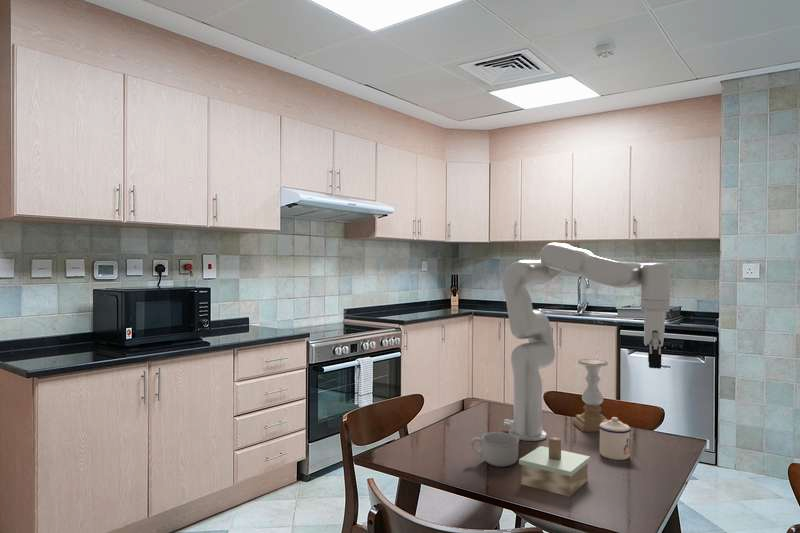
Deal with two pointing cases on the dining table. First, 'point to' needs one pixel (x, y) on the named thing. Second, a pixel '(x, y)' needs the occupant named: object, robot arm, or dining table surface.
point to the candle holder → (591, 398)
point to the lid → (555, 459)
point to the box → (554, 480)
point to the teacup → (498, 448)
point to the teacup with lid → (614, 439)
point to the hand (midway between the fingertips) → (654, 365)
